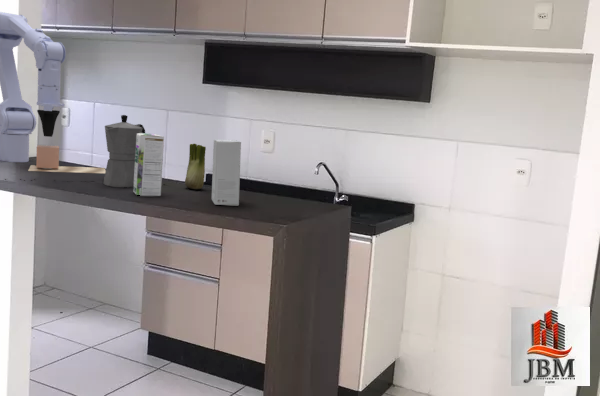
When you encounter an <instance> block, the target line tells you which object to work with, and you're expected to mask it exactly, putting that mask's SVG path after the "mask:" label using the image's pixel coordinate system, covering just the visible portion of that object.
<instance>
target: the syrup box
mask: <svg viewBox="0 0 600 396" xmlns="http://www.w3.org/2000/svg"><path fill="white" fill-rule="evenodd" d="M164 142H165V136H162V135H160V134H155V133H149V132H145V133H137V135H136V153H135V168H134V187H133V188H132V191H133V193H134V194H135V195H136V196H137V195H140V196H139V197H161V196H162V182H163V181H162V180H163V164H164V163H163V161H164V147H165V145H164V144H165V143H164Z"/></svg>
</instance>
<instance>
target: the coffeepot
mask: <svg viewBox="0 0 600 396" xmlns="http://www.w3.org/2000/svg"><path fill="white" fill-rule="evenodd" d="M120 118H121V122H115V123H112V124H106V125H104V131H105V140H106V149H107V150H106V151H107V152H108V153H109V158H108V160H107V164H106V168H105V170H106V172H105V174H104V177H103V182H102V183H103V185H104V186H107V187H111V188H112V187H114V188H124V187H127V188H134V168H135V153H136V135H137V133H146V129H145V127H144V125H143V124H141V123H138V124H133V123H131V122H130V123H129V122H128V115H125V114H121V115H120ZM127 188H126V189H127Z"/></svg>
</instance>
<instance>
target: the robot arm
mask: <svg viewBox="0 0 600 396" xmlns="http://www.w3.org/2000/svg"><path fill="white" fill-rule="evenodd" d="M22 40H23V43H24V45H25V46H26V47H27V48H28V49H30V50H31V52H33V56H34V60H35V66H36V68H37V101H36V106H41V107H43V109H37V110H36V111H37V115H38V116H39V119H40V122H41V128H42V135H43V137H50V138H51V137H53V135H54V132H55V127H56V122H57V119H58V117H59V115H60V112H61V111H60V110H56V109H55V110H53V109H54V107H59V108H60V107H65V103H61V82H62V81H61V77H62V76H61V75H62V70H61V69H62V64H63V63H64V62H65V59H66V56H67V52H66V47H65V46H64V44H63V42H61V41H54V40H53V39H51V37H50V36H48V35H46V34H45V33H44V31H43V29H42V28H33V27H32V26H31V25H30V24H29V23H28V19H27V17H26V16H25V15H23V14H14V13H9V12H2V11H0V90H1V96H2V101H1V102H0V161H1V162H2V161H3V162H9V163H27V162H28V163H29V162H30V161H29V160H30V159H29V158H30V154H29V153H30V135H32V134H33V132H34V130H35V129H36V127H37V118H36V115H35V113H34V111H33V108H32V106H31V105H30V103H28V102H26V100H23V96H22V92H21V85H20V81H19V77H18V71H17V66H16V60H15V55H14V51H13V50H14V48H16V47H18V46H20V44H21V42H22Z"/></svg>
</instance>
